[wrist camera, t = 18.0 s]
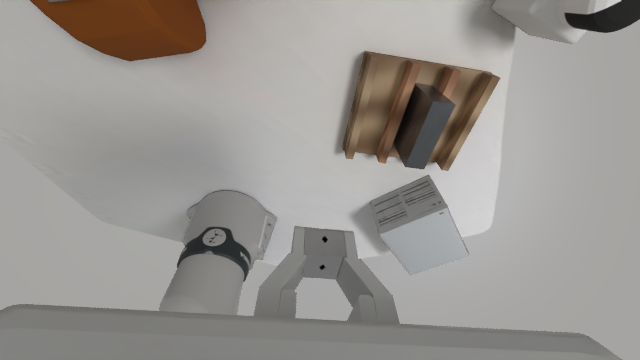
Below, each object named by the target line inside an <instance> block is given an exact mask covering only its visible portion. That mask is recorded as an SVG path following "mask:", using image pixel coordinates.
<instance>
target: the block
mask: <svg viewBox="0 0 640 360" xmlns="http://www.w3.org/2000/svg"><path fill="white" fill-rule="evenodd" d="M455 105H456V104H454V103H453V102H452V101H451V100H449V99H448V98H447V97H446V96H445V95H443V94H442V93H441V92H440V91H438V90H437V89H436V88H435V87H434V86H432V85H427V84H421V83H415V85H414V87H413V90H412V93H411V96H410V98H409V101H408V104H407V106H406V109H405V112H404V114H403V117H402V120H401V123H400V125H399V128H398V131H397V133H396V136H395V139H394V141H393V144H394V146H395V148H396V150H397V152H398V154H399V156H400V158H401V160H402V162H403V164H404V166H405V167H410V168H418V169H424V168H425V166H426V164H427V162H428V160H429V158H430V156H431V154H432V152H433V150H434V148H435V146H436V144H437V142H438V140H439V138H440V136H441V134H442V132H443V130H444V128H445V126H446V124H447V122H448V120H449V118H450V115H451V113H452V111H453V109H454V107H455Z"/></svg>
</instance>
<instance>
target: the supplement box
mask: <svg viewBox="0 0 640 360" xmlns="http://www.w3.org/2000/svg"><path fill="white" fill-rule="evenodd" d="M371 205H372V209H373V213H374V217H375V221H376V225H377V229H378V233H379V236H380V237H381V238H382V240H383V241H384V242H385V244H386V245H387V246H388V248H389V249H390V250H391V251H392V253H393V254H394V255H395V256H396V258H397V259H398V260H399V262H400V263H401V264H402V266H403V267H404V268H405V269H406V271H407V272H408V273H409V274H410V275H412V274H416V273H419V272H422V271H425V270H428V269H431V268H433V267H436V266H440V265H443V264H446V263H449V262H452V261H455V260H458V259H461V258H464V257H467V256H469V255H470V254H469V252H468V250H467V248H466V246H465V244H464V242H463V240H462V238H461V236H460V233H459V231H458V229H457V227H456V225H455V223H454V221H453V218H452V216H451V214H450V211H449V208H448V206H447V204H446V203H445V201H444V199H443V198H442V196H441V194H440V193H439V191H438V189H437V187H436V186H435V184H434V182H433V181H432V179H431V177H430V176H429V175H428V176H426V177H424V178H422V179H419V180H417V181H415V182H413V183H411V184H408V185H406V186H404V187H401V188H399V189H397V190H395V191H392V192H390V193H388V194H386V195H383V196H381V197H379V198H377V199H374V200H372V201H371Z"/></svg>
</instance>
